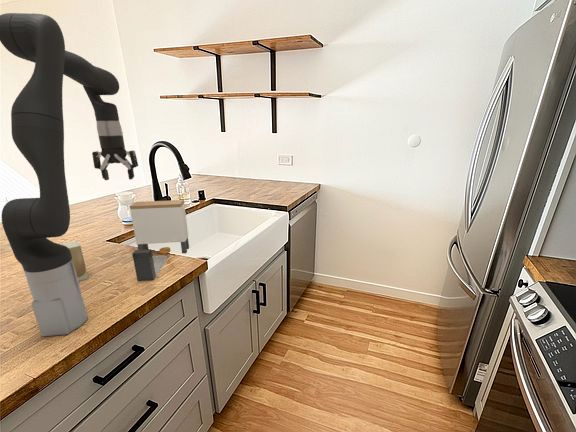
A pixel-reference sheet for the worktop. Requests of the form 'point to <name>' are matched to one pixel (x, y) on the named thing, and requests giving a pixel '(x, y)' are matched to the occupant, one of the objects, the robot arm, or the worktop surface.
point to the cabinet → (160, 223)
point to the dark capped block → (147, 264)
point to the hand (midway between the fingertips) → (119, 179)
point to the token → (164, 250)
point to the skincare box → (77, 259)
